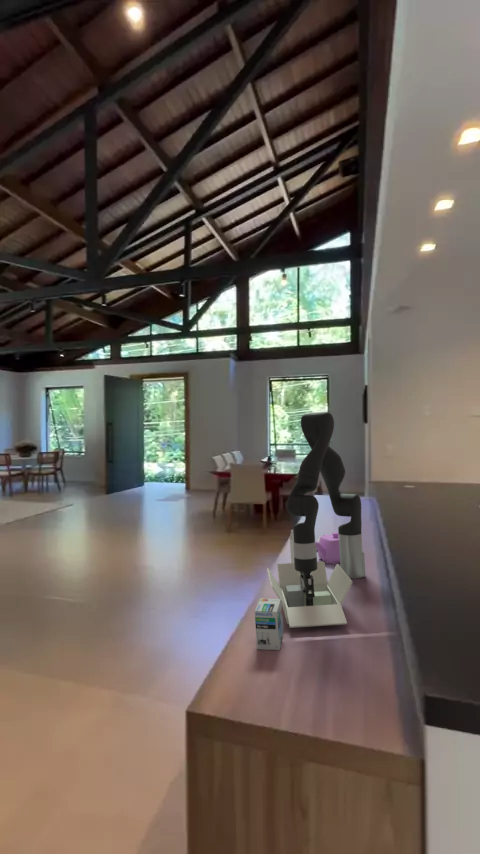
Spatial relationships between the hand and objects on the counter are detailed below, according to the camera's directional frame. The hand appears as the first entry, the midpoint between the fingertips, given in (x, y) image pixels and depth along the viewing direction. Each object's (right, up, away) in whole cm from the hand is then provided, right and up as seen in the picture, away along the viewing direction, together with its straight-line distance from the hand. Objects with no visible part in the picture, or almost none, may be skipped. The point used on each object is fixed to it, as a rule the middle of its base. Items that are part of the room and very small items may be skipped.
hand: (307, 604), depth 155 cm
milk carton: (+3, -3, +40) cm, 40 cm away
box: (0, -2, 0) cm, 2 cm away
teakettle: (+22, -3, +60) cm, 63 cm away
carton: (0, -3, -2) cm, 3 cm away
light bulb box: (-14, -4, -20) cm, 25 cm away
